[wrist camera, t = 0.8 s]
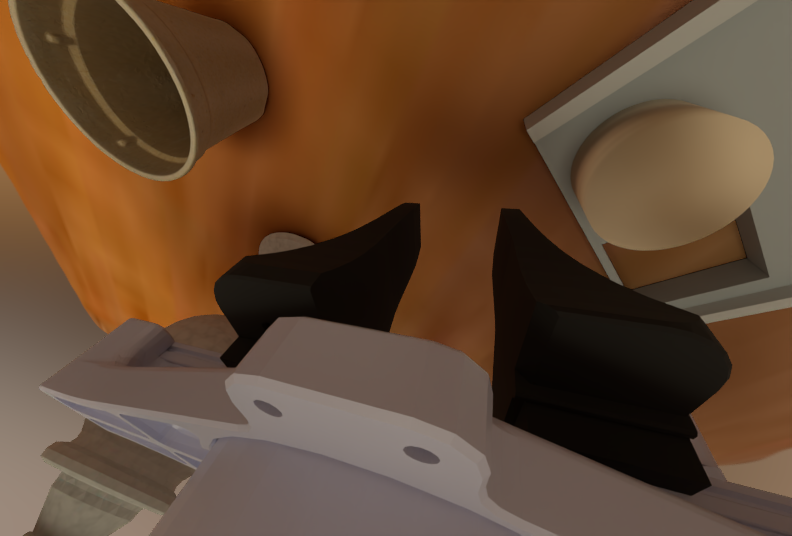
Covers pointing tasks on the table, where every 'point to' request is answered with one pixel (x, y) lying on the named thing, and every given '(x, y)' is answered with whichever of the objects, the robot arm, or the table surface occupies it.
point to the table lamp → (128, 450)
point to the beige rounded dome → (669, 173)
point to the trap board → (714, 89)
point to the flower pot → (143, 77)
